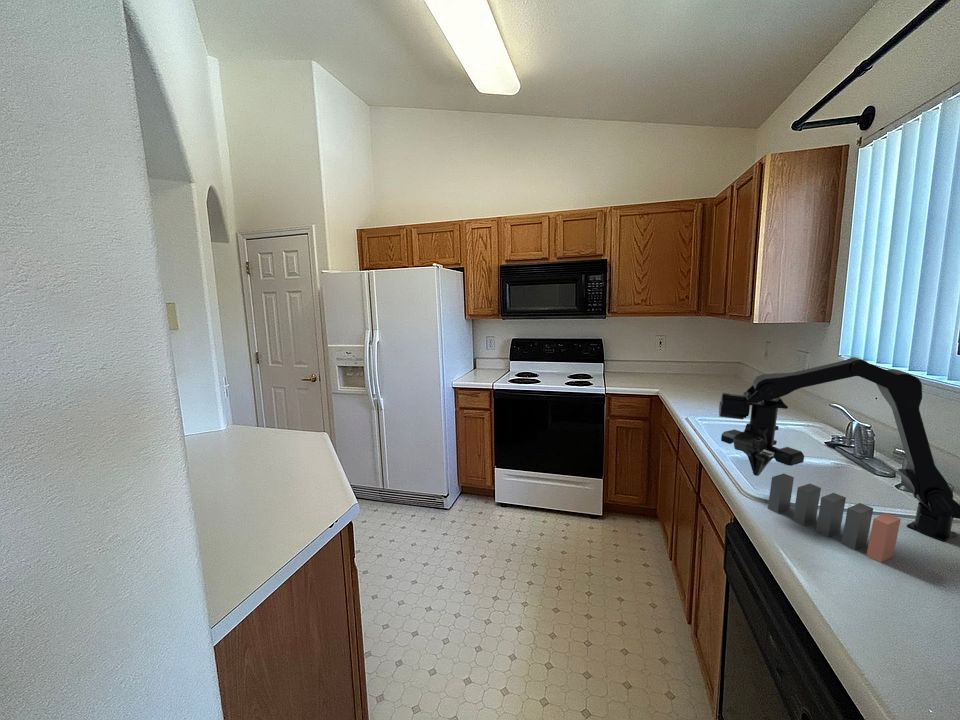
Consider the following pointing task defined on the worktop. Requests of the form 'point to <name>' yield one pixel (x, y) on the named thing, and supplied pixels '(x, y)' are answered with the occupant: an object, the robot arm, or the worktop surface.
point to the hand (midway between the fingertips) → (756, 475)
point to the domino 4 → (857, 526)
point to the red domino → (883, 537)
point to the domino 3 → (830, 514)
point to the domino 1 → (780, 493)
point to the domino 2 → (806, 504)
